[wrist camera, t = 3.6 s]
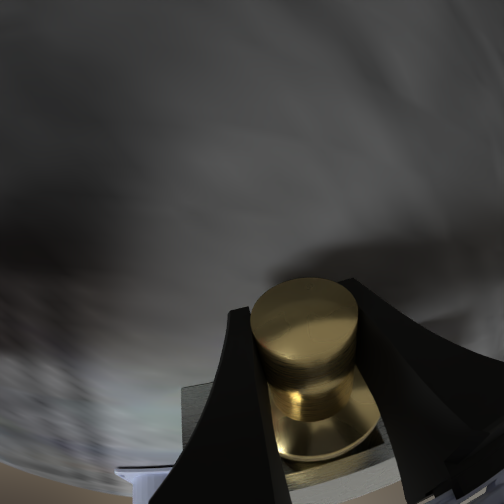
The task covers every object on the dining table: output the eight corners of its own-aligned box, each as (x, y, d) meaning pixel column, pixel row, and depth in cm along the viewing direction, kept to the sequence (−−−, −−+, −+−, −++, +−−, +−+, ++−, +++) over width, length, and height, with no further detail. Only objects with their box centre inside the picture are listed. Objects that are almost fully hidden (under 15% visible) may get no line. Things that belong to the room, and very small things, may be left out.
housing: (385, 399, 19) (419, 471, 14) (222, 444, 19) (234, 525, 13) (403, 327, 15) (462, 422, 9) (181, 388, 15) (186, 505, 9)
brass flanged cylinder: (350, 387, 16) (383, 468, 11) (256, 413, 16) (274, 501, 11) (355, 238, 11) (442, 352, 6) (202, 277, 11) (211, 425, 6)
